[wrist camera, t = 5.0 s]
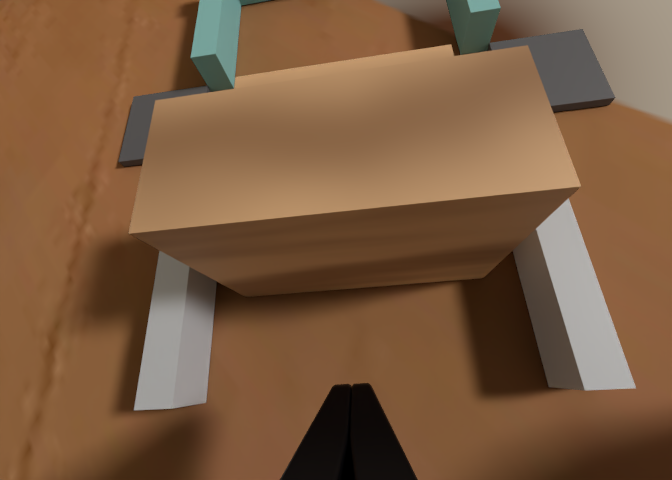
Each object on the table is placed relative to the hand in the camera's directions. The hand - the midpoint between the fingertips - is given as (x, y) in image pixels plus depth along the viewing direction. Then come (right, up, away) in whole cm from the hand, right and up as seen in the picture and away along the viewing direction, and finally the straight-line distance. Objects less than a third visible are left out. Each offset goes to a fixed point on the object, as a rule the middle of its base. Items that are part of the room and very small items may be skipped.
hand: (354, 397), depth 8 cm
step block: (0, +6, +10) cm, 12 cm away
